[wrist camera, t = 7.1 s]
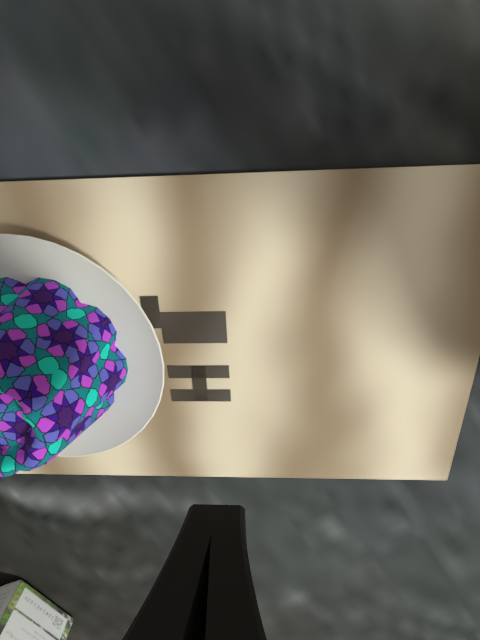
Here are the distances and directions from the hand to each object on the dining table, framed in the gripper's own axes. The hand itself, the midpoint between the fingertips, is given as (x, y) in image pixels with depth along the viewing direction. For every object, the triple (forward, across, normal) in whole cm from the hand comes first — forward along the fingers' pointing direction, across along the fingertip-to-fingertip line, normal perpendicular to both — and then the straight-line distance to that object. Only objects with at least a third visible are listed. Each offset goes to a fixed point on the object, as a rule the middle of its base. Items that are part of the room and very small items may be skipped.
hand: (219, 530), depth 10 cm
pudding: (+9, +9, 0) cm, 13 cm away
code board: (+9, +3, 0) cm, 10 cm away
